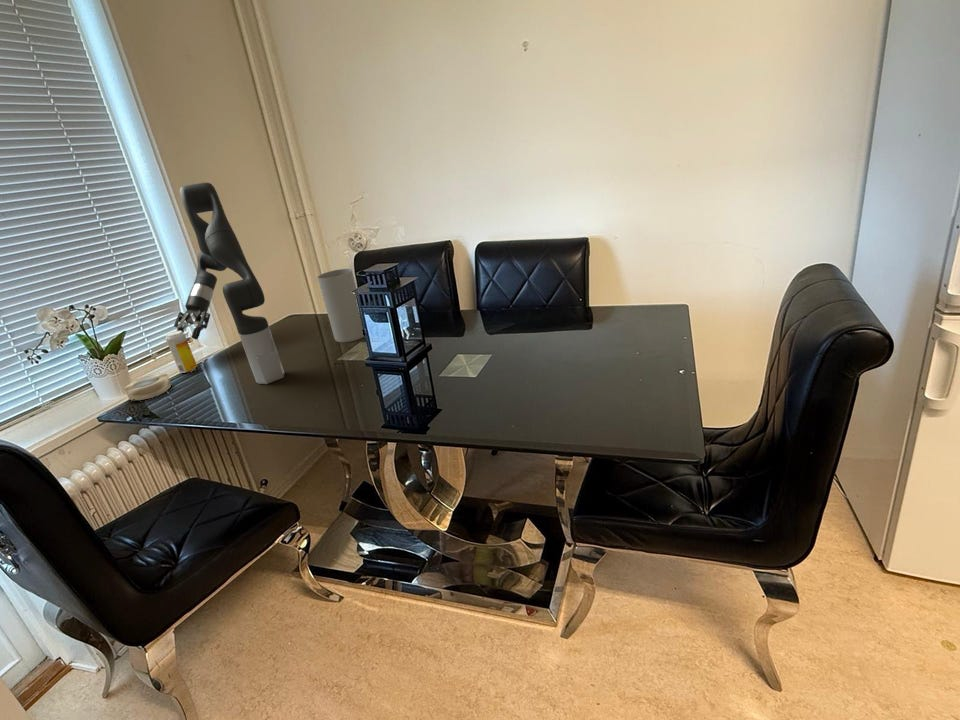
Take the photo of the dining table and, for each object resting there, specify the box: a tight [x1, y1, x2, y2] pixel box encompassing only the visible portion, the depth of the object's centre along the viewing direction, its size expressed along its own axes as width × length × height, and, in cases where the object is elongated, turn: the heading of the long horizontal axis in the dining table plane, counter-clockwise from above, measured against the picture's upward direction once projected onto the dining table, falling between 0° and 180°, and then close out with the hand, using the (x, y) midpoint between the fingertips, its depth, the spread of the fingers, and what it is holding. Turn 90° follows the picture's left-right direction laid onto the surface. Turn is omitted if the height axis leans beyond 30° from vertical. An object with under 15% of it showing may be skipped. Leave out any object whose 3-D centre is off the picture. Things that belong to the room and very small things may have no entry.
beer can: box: [165, 330, 198, 374], centre depth 188 cm, size 6×6×15 cm
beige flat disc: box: [124, 373, 173, 401], centre depth 176 cm, size 13×13×4 cm
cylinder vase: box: [316, 268, 365, 344], centre depth 194 cm, size 12×12×25 cm
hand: (186, 338), depth 190 cm, fingers open, 8 cm apart
